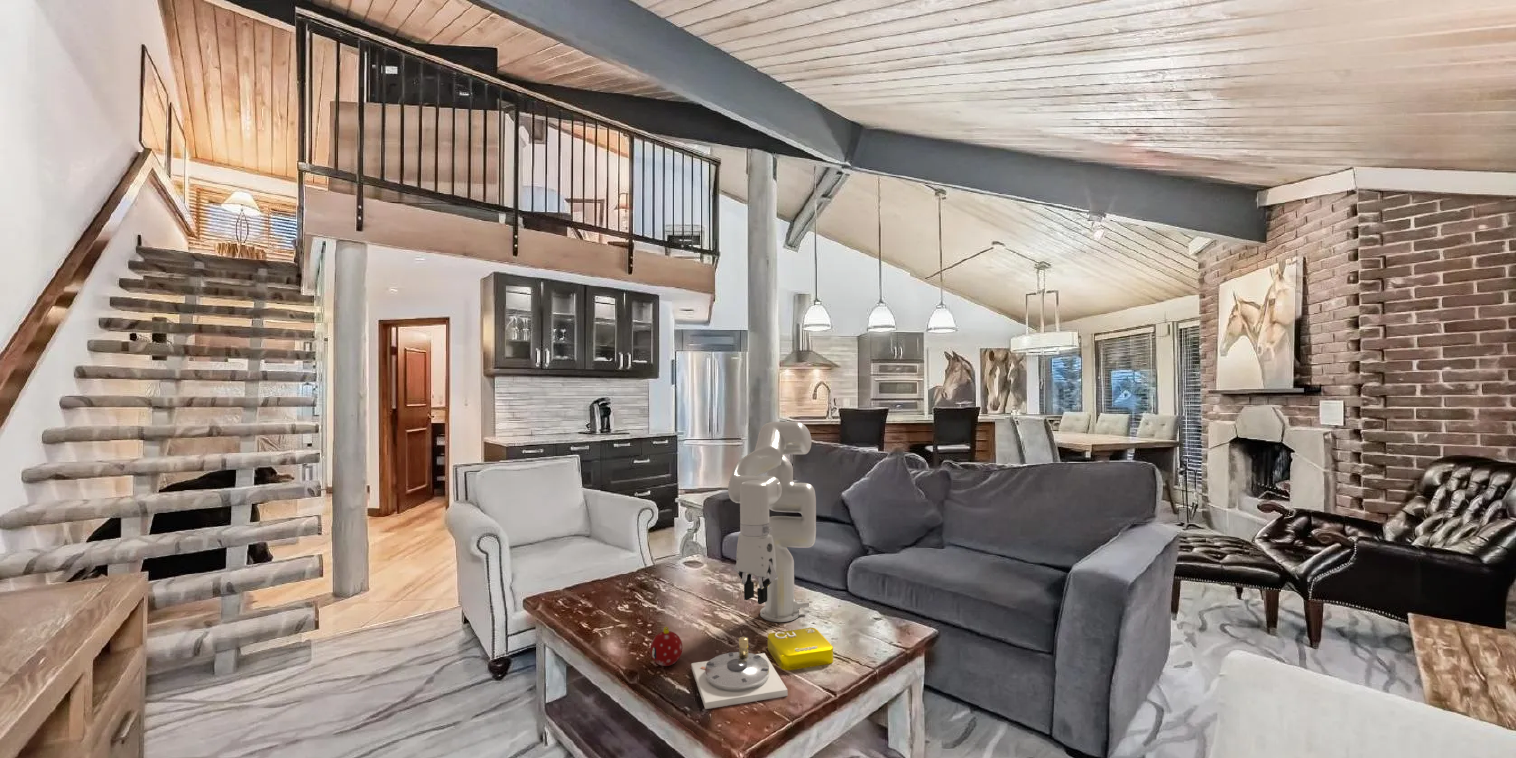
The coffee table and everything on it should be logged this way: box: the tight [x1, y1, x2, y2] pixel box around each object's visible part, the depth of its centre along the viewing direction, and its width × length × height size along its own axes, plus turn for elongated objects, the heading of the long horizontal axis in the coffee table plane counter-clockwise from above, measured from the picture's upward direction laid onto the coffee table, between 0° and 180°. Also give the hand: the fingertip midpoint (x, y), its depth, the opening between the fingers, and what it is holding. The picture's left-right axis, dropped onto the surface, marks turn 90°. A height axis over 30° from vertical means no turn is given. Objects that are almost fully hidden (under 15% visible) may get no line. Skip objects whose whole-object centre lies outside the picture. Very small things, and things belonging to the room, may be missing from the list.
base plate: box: [690, 652, 789, 710], centre depth 150 cm, size 20×20×2 cm
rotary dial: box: [705, 636, 769, 691], centre depth 150 cm, size 16×16×6 cm
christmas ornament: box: [649, 626, 684, 667], centre depth 160 cm, size 9×9×10 cm
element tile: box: [767, 627, 834, 671], centre depth 165 cm, size 15×15×5 cm
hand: (755, 599), depth 154 cm, fingers open, 3 cm apart
